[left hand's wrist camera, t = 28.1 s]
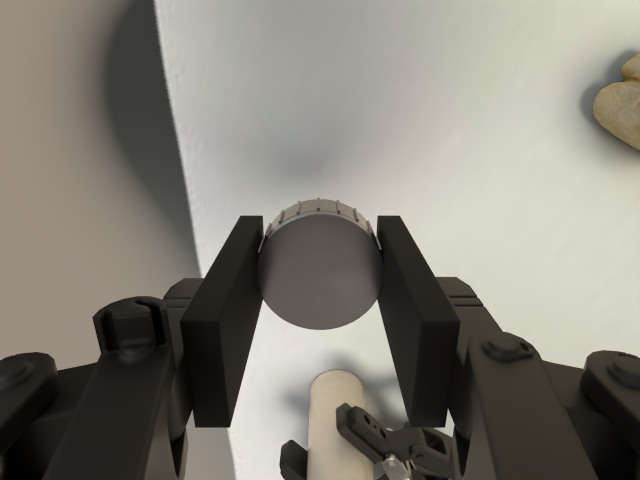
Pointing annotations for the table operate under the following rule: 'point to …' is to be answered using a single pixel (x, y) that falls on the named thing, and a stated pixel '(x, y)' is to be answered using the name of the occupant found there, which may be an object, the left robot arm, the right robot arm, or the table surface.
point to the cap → (320, 265)
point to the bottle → (334, 430)
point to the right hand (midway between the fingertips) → (311, 435)
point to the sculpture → (622, 104)
